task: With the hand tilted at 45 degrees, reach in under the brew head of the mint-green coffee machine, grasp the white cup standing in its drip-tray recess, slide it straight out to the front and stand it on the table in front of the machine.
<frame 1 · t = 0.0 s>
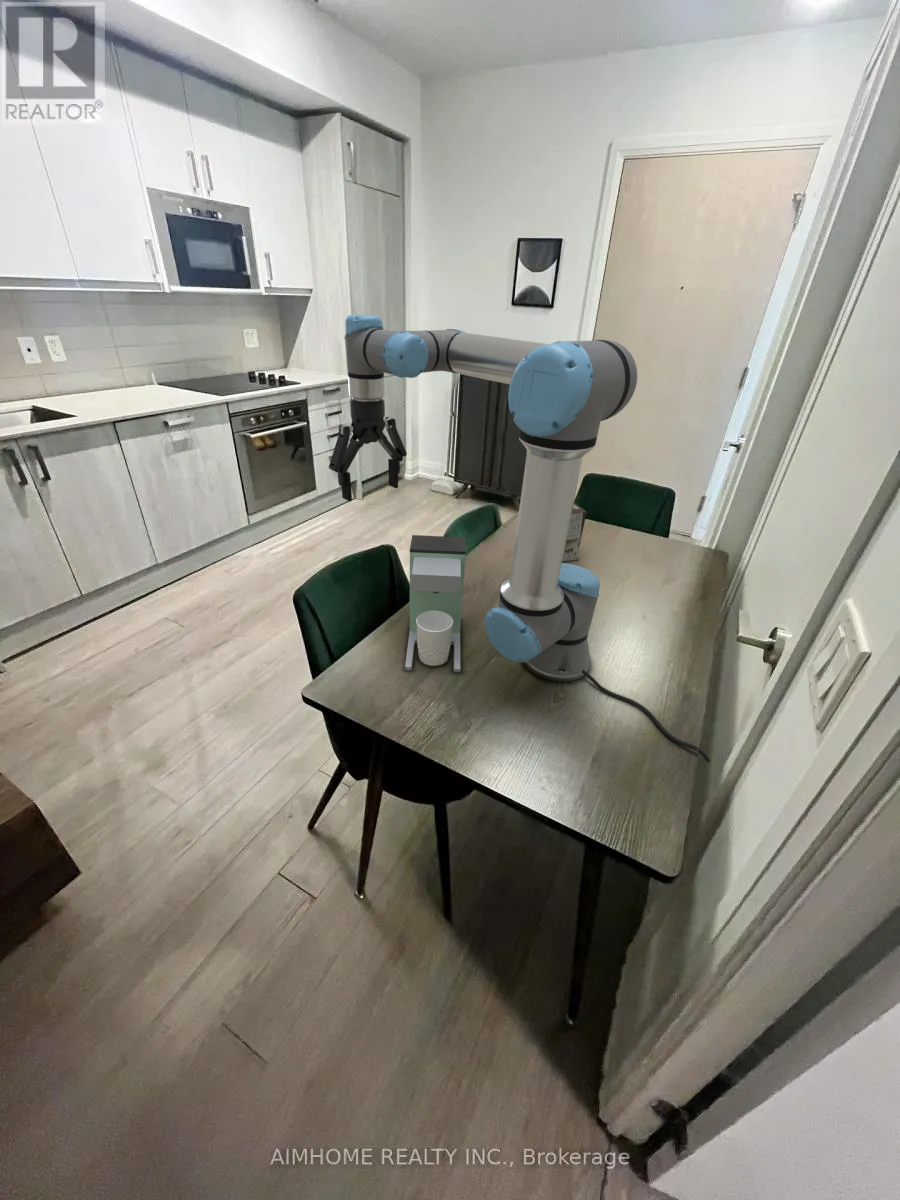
hand: (371, 492, 116), 28 cm above the table, tool pointing down, fingers open, 13 cm apart
coffee machine: (433, 656, 110), on the table
white cup: (433, 657, 110), on the table
coffee box: (561, 554, 155), on the table
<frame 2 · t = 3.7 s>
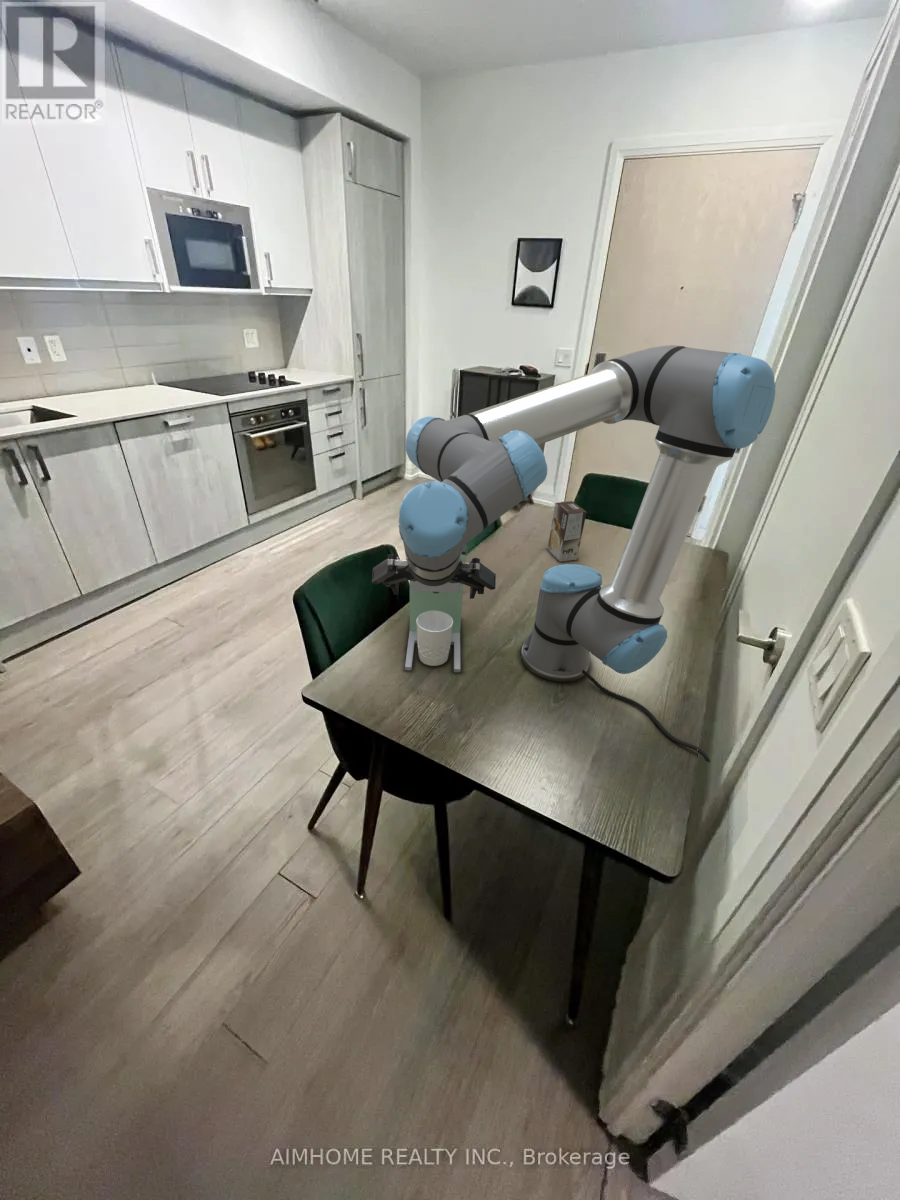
hand: (434, 589, 87), 24 cm above the table, tool tilted 45°, fingers open, 13 cm apart
nothing on the table moved.
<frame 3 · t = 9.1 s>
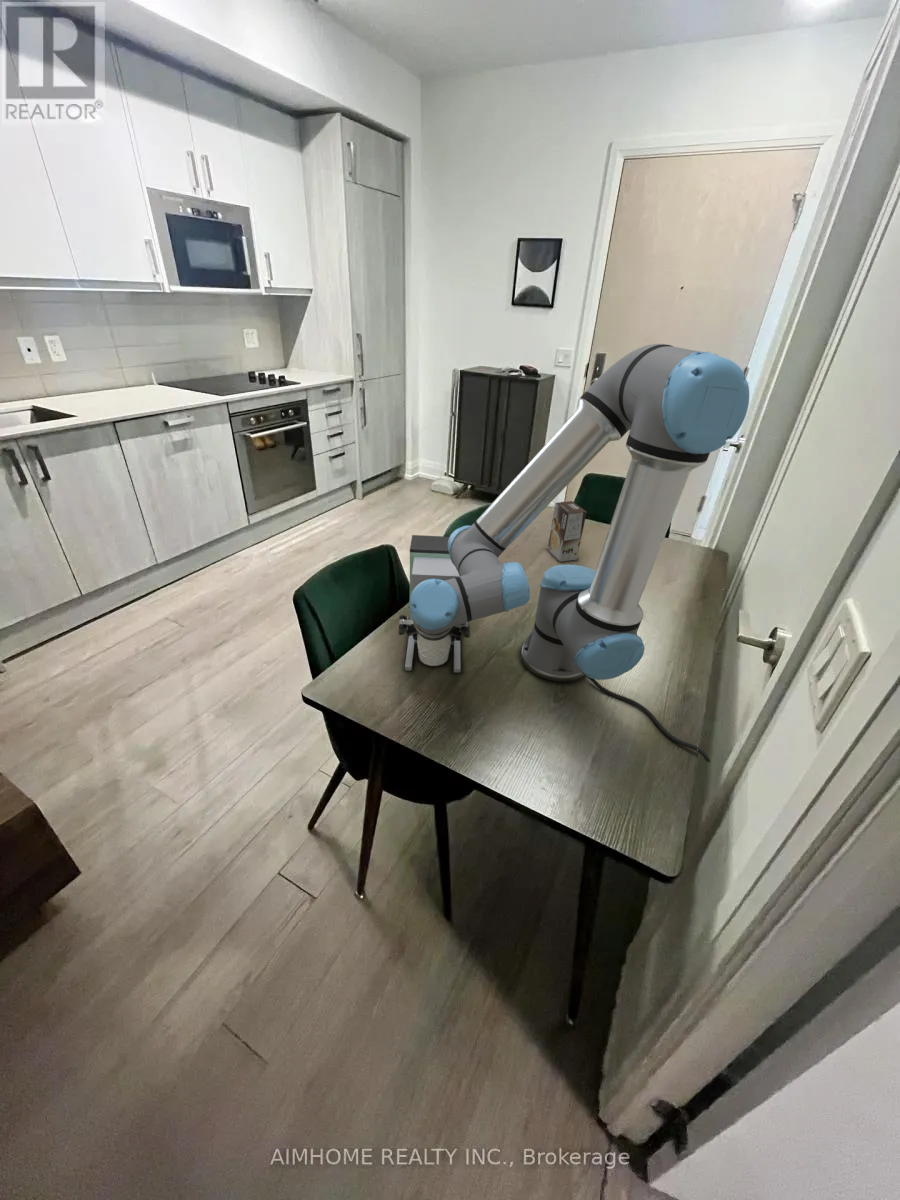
hand: (434, 634, 110), 4 cm above the table, tool tilted 45°, fingers closed on white cup, 8 cm apart
white cup: (433, 657, 110), on the table, touching gripper
everything else where it was.
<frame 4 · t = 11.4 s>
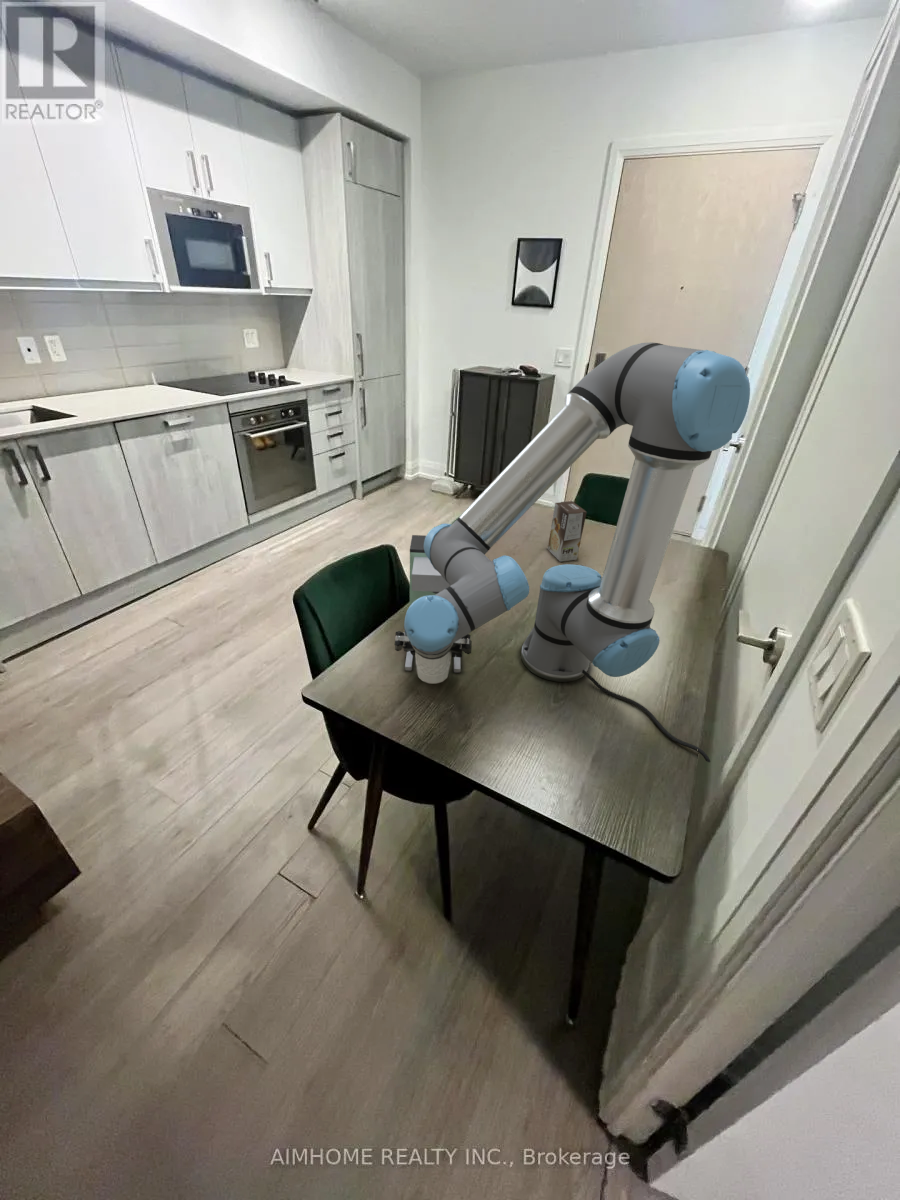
hand: (433, 649, 104), 5 cm above the table, tool tilted 45°, fingers closed on white cup, 8 cm apart
white cup: (432, 673, 103), point 1 cm above the table, touching gripper
everything else where it was.
when the fingers open (3 cm above the table, at t = 13.7 s): white cup stays where it is, on the table.
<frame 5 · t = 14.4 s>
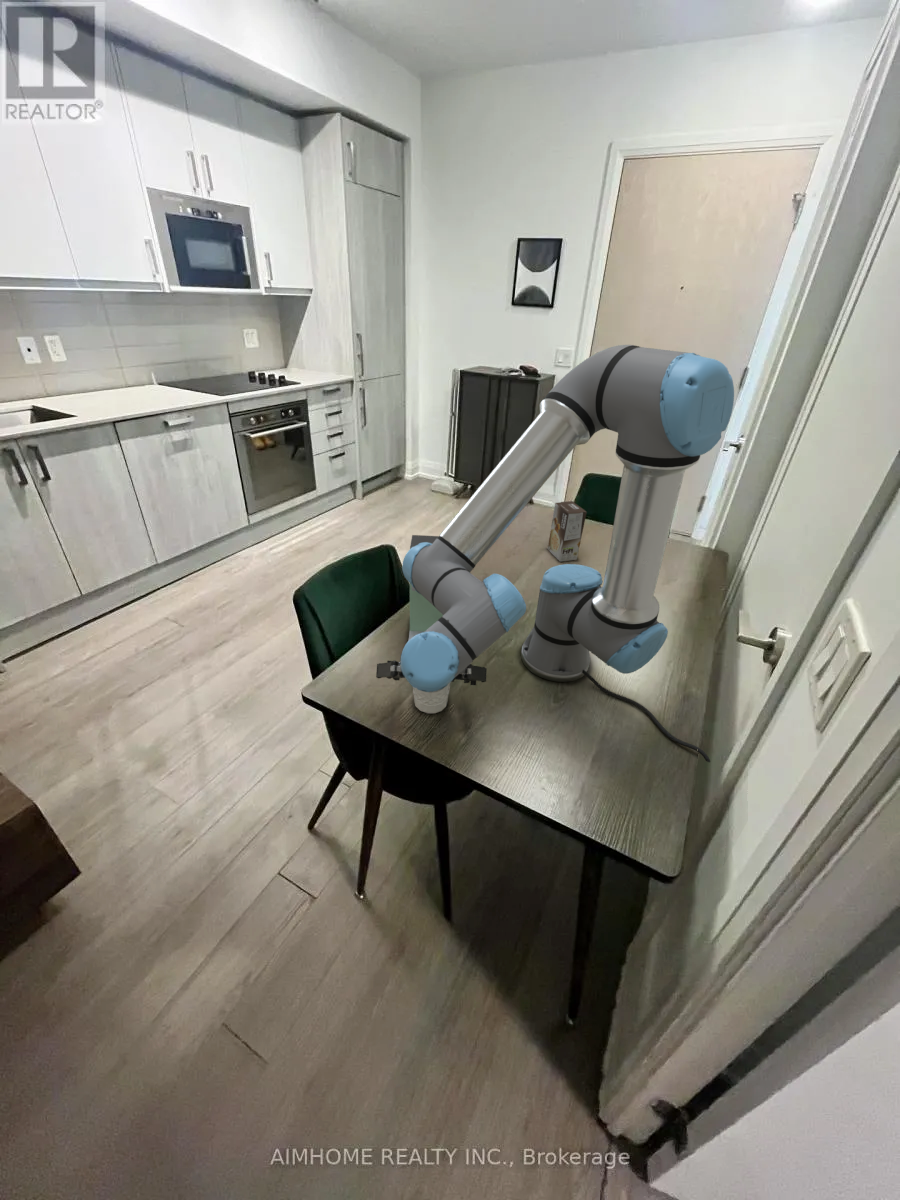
hand: (432, 674, 97), 5 cm above the table, tool tilted 45°, fingers open, 13 cm apart
white cup: (430, 702, 98), on the table
everything else where it was.
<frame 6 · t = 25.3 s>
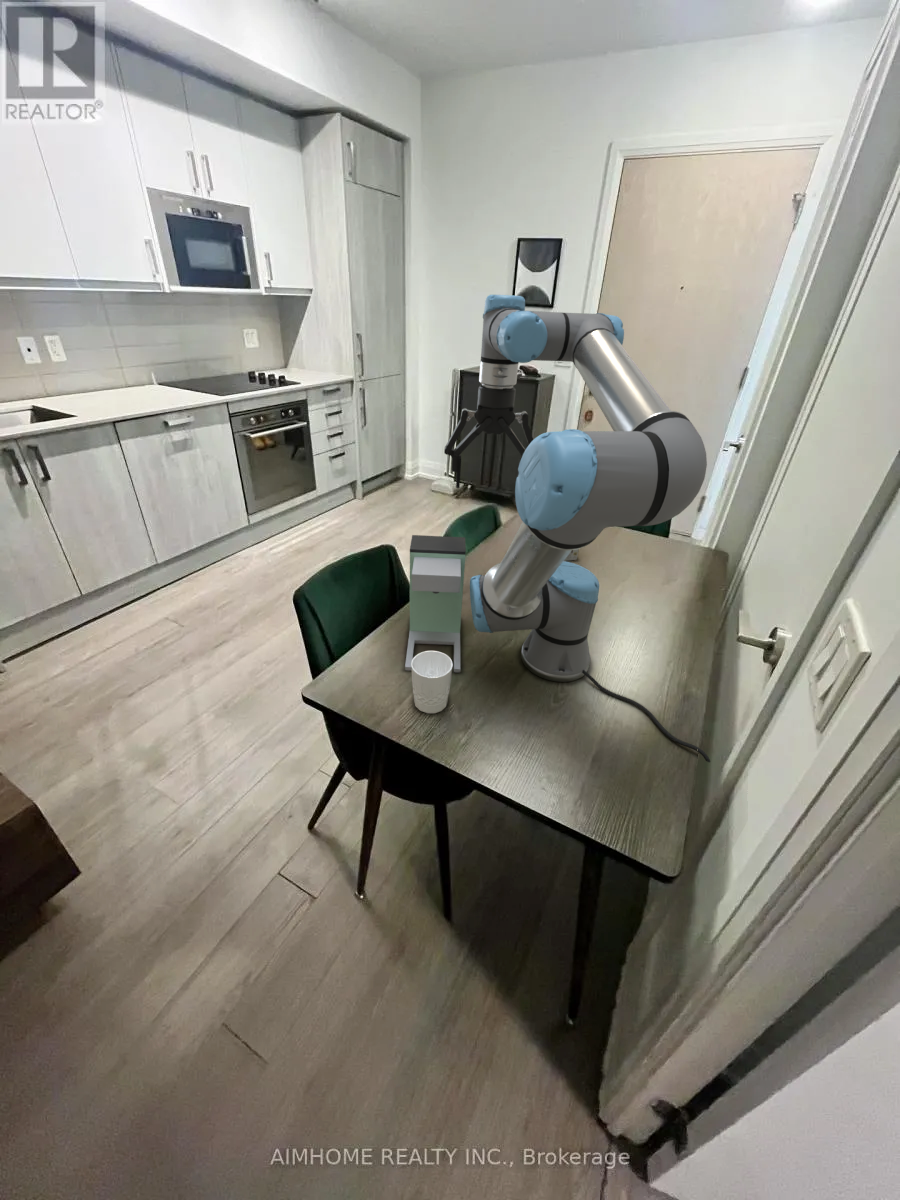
hand: (488, 487, 109), 33 cm above the table, tool pointing down, fingers open, 13 cm apart
nothing on the table moved.
at the end: white cup inside the target area (0.1 cm from its centre), on the table; white cup tilted 0°; the gripper is holding nothing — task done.
